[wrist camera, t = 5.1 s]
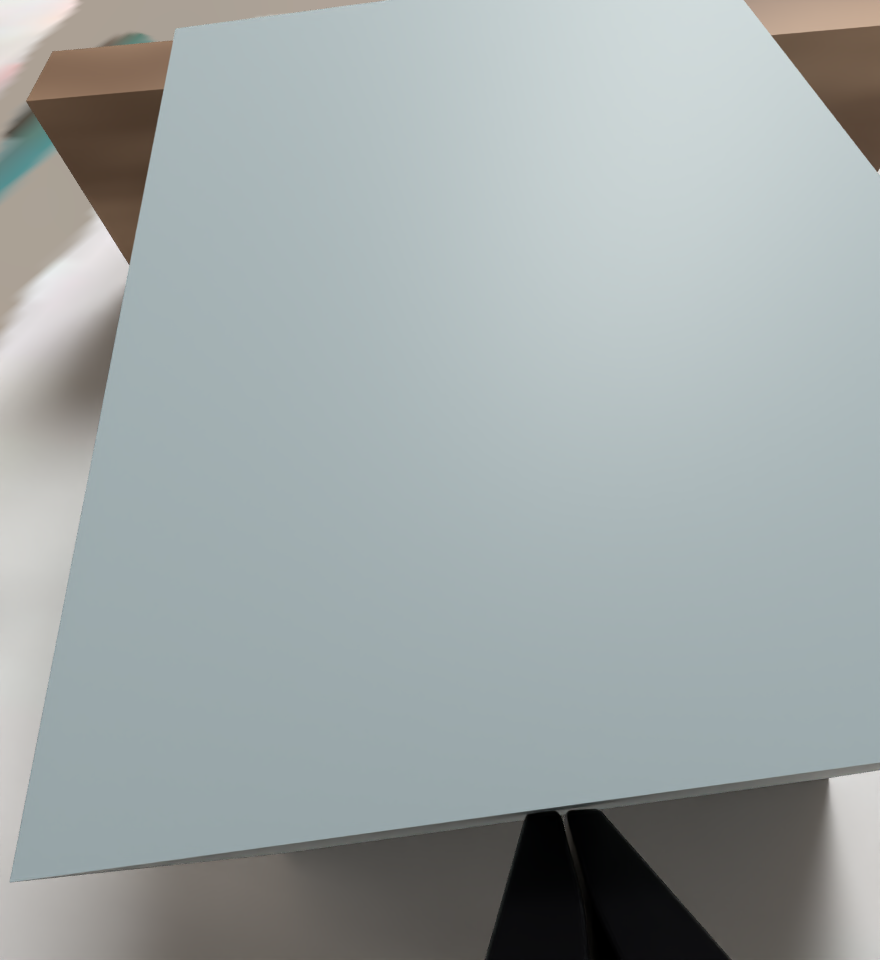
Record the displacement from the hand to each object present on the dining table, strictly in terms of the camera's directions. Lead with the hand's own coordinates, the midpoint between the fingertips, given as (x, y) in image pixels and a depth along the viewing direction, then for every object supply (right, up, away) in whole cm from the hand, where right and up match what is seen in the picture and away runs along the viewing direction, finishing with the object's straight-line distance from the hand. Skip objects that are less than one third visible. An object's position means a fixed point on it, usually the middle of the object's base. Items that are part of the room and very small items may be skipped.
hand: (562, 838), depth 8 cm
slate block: (0, +4, +10) cm, 11 cm away
